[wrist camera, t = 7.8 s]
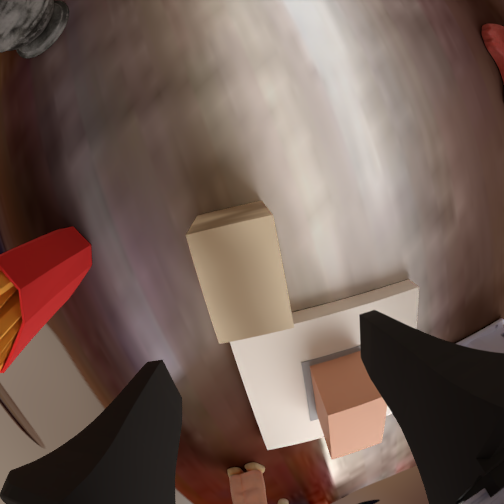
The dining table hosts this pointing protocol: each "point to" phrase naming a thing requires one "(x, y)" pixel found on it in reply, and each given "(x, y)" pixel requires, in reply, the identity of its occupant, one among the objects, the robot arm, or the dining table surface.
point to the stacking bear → (495, 43)
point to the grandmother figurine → (249, 485)
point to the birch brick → (241, 271)
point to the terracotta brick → (347, 405)
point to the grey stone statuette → (31, 25)
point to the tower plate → (309, 359)
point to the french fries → (38, 285)
